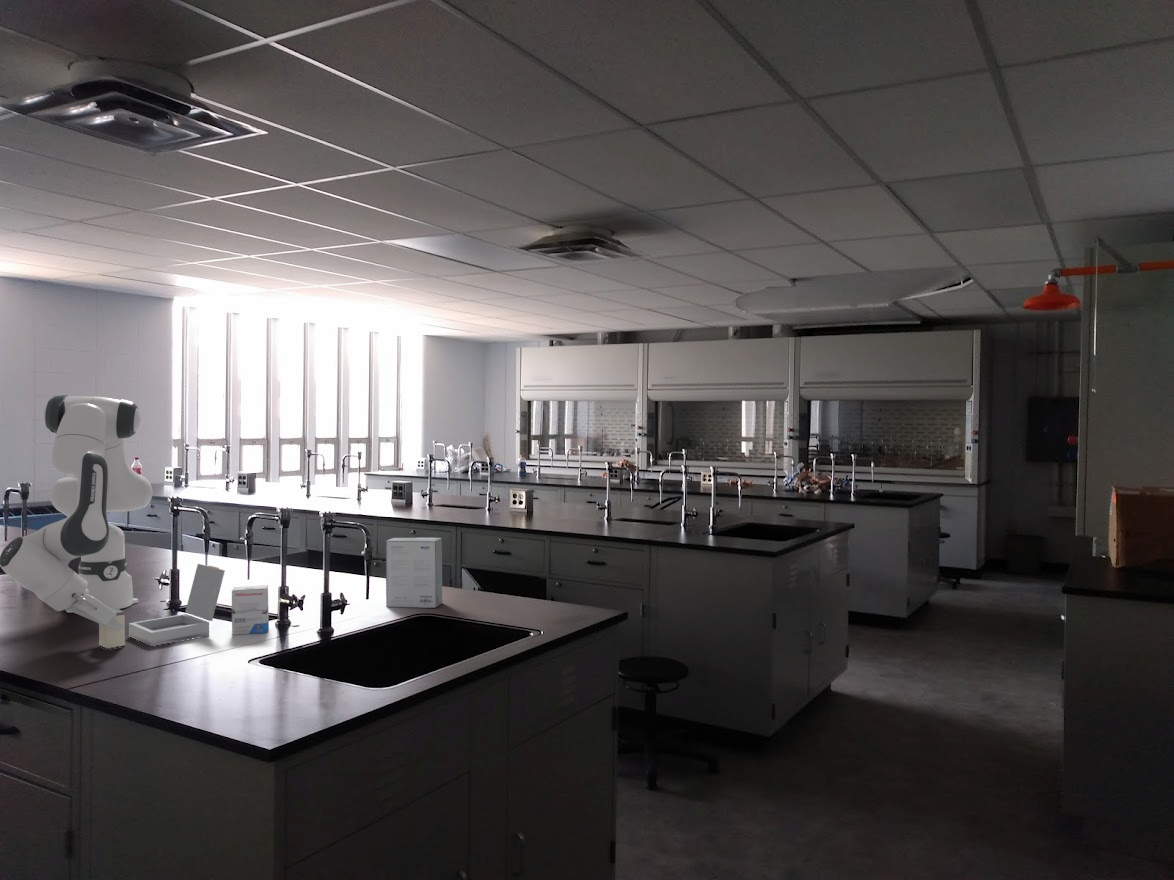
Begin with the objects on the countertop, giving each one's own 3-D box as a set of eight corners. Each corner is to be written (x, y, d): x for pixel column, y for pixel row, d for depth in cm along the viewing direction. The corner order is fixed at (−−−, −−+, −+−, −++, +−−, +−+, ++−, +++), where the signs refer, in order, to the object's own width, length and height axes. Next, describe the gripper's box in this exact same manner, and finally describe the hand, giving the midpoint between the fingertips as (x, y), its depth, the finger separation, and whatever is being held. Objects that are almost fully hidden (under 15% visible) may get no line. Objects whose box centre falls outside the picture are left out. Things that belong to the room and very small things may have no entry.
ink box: (269, 628, 218) (269, 584, 218) (267, 633, 213) (267, 588, 213) (234, 630, 216) (234, 586, 215) (231, 635, 211) (231, 589, 211)
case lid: (197, 563, 222) (203, 563, 223) (185, 612, 219) (191, 612, 220) (222, 569, 212) (227, 570, 214) (209, 620, 210) (215, 621, 211)
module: (99, 646, 200) (99, 611, 200) (117, 642, 203) (116, 608, 203) (106, 649, 197) (106, 614, 197) (124, 646, 200) (124, 611, 200)
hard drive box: (443, 603, 250) (443, 537, 249) (436, 608, 242) (436, 541, 242) (393, 601, 251) (393, 536, 251) (384, 607, 244) (384, 540, 243)
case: (128, 637, 209) (128, 623, 209) (185, 626, 219) (185, 613, 219) (151, 647, 200) (151, 632, 199) (209, 635, 210) (209, 622, 210)
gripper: (92, 586, 187) (138, 621, 195) (62, 575, 201) (106, 608, 208) (70, 609, 184) (118, 644, 192) (41, 596, 198) (87, 629, 205)
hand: (112, 625), depth 200 cm, fingers open, 8 cm apart
